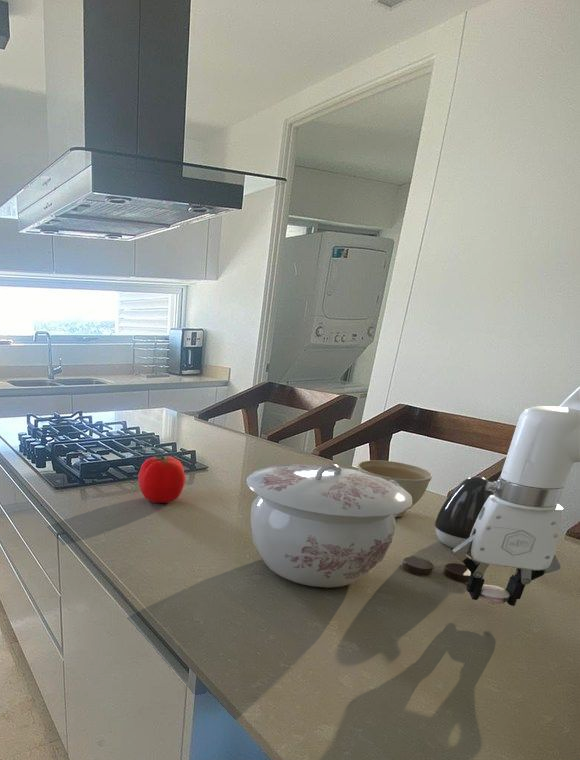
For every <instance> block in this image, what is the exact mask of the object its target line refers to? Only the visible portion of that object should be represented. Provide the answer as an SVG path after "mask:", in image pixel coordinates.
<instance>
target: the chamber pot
mask: <svg viewBox="0 0 580 760" xmlns="http://www.w3.org/2000/svg"><path fill="white" fill-rule="evenodd" d="M246 483H247V487H248V488H249V489H250V490H252V492H254V493H255V494H256V495H257V496H256V497H255V499H253V502H251V504H250V505H251V507H250V513H249V517H250V529H251V530H250V531H251V538H252V544H253V545H254V547H255V549H256V551H257V552H258V555H259V557H260V559H261V560H262V562H263V563H264V564H265V565H266V567H268V569H269V570H270V571H271V572H273V573H275V574H276V575H278V576H279V577H281V578H283V579H286V580H288V581H291V582H293V583H296V584H301V585H304V586H307V587H308V586H309V587H317V588H327V589H329V588H340V587H345V586H348V585H351V584H354V583H357V582H358V581H359V580H360V579H362V578H363V577H364V576H365V575H367V574H368V573H369V572H370V571H371V570H372V569H374V568H375V567H376V566H377V565H379V564H380V563H381V562H382V561H383V559H384V557H385V556H386V554H387V552H388V550H389V548H390V546H391V544H392V542H393V538H394V535H395V533H396V518H397V517H396V516H397V515H398V514H399V513H401V512H403V511H404V510H406V509H407V508H409V507H410V506H412V496H411V495H410V494H409V493H408V492H407V491H406V490H405V489H403V488H402V487H401V486H400V484H398V483H397V482H396V481H394V480H389V481H388V480H386V479H383V478H380V477H377V476H374V475H371V474H368V473H365V472H361V471H358V470H355V469H351V468H348V467H347V468H346V467H341V466H340V465H338V464H335V463H327V464H311V463H295V464H294V463H293V464H292V463H291V464H289V463H288V464H281V465H273V466H266V467H263V468H260V469H257V470H254V471H253V472H252V473H251V474H250V475H249V476H248V477H247V478H246ZM412 507H413V506H412ZM409 509H410V508H409ZM406 511H407V510H406Z"/></svg>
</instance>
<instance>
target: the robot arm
mask: <svg viewBox="0 0 580 760" xmlns="http://www.w3.org/2000/svg"><path fill="white" fill-rule="evenodd" d="M518 417H519V418H518V421H517V423H516V425H515V429H514V432H513V435H512V439H511V442H510V445H509V448H508V451H507V455H506V457H505V460H504V464H503V466H502V470H501V473H500V475H499V476H498V478H497V479H496V480H494V481H489V482H487V484H486V490H487V491H492V492H494V495H490V496H489V497H488V499H487V501H486V502H485V504H484V506H483V507H482V509H481V511H480V513H479V515H478V517H477V519H476V522H475V524H474V526H473V529H472V531H471V534H470V537H469V538H468V539H466V540H465V541H464V542H462V543H461V544H460V545H458V546H457V547H456V548H452V550H451V553H452V555H453V556H454V557H455V559H457V560H458V561H459V562H460V563H461V564H462V565H465V566H466V567H467V568H468V569H469V571H470V572H471V574H470V577H469V580H468V583H466V592H468V594H469V595H470V598H471V599H472V600H474V601H477V600H479V598H480V593H481V590H482V587H483V584H484V583H485V577H484V573H485V572H486V570H487V569H488V568H489V566H490V565H491V566H496V567H497V566H498V567H504V568H505V567H506V568H512V569H515V573H514V574H512V575H511V576H510V577H509V579H508V581H507V585H506V587H505V590H506V591H508V592H509V594H510V597H508V598H509V600H508V601H507V602H506V603H507V604H508V605H509V606H510V607H512V606H513V607H514V606H515V605H516V603H517V601H518V600H520V599H521V597H522V595H523V592H524V590H525V587H526V586H527V585H530V584H531V582H532V581H535V580H536V579H538V578H540V577H543V576H544V575H546V574H550V573H553V572H556V571H559V570H560V569H561V568H562V567H561V564H560V562H559V560H558V558H557V556H556V551H557V547H558V544H559V539H560V535H561V530H562V525H563V519H564V507H563V506H562V505H560V504H559V502H560V500H561V497H562V494H563V491H564V489H565V486H566V483H567V481H568V478H569V475H570V473H571V471H572V468H573V465H574V464H575V463H580V386H578V387H577V388H576V389H575V390H574V391H573V392H572V393H571V394H570V395H569V396H567V398H565V400H563V402H561V404H559V406H555V405H554V406H553V405H541V406H540V405H538V406H532V407H529V408H526V409H524V410H523V411H522V412H521V414H520V415H519V416H518ZM468 552H470V555H471V556H469V555H468Z"/></svg>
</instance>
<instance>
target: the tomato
mask: <svg viewBox="0 0 580 760" xmlns="http://www.w3.org/2000/svg"><path fill="white" fill-rule="evenodd" d="M151 456H152V457H148V458H147V459H145V460H144V461H143V463H141V465H140V468H139V472H138V477H137V479H138V481H137V482H138V486H139V487H138V488H139V489H140V492H141V494H142V496H143V497H144V498H145V499H146V500H148V501H149V502H152V503H156V504H168V503H169V504H170V503H171V502H173V501H175V500H177V499H178V498H179V497H180V495H181V494H182V492H183V489H184V487H185V484H186V478H187V477H186V475H185V469H184V465H183V464H182V462H181V460H179V459H177V458H175V457H173V456H170V455H166V456H164V455H161V457H160V456H155V455H153V454H151Z"/></svg>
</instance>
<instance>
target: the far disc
mask: <svg viewBox="0 0 580 760" xmlns="http://www.w3.org/2000/svg"><path fill="white" fill-rule="evenodd" d="M401 568H402V569H403V570H404V571H406V572H407V573H409V574H413V575H415V576H416V575H417V576H422V577H424V576H425V577H427V576H430V575H431V574H432V572H433V569H434V564H433V563H432V562H431V561H430V560H427V559H424V558H423V557H422V558H421V557H417V556H407V557H405V558H403V561H402V565H401Z"/></svg>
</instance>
